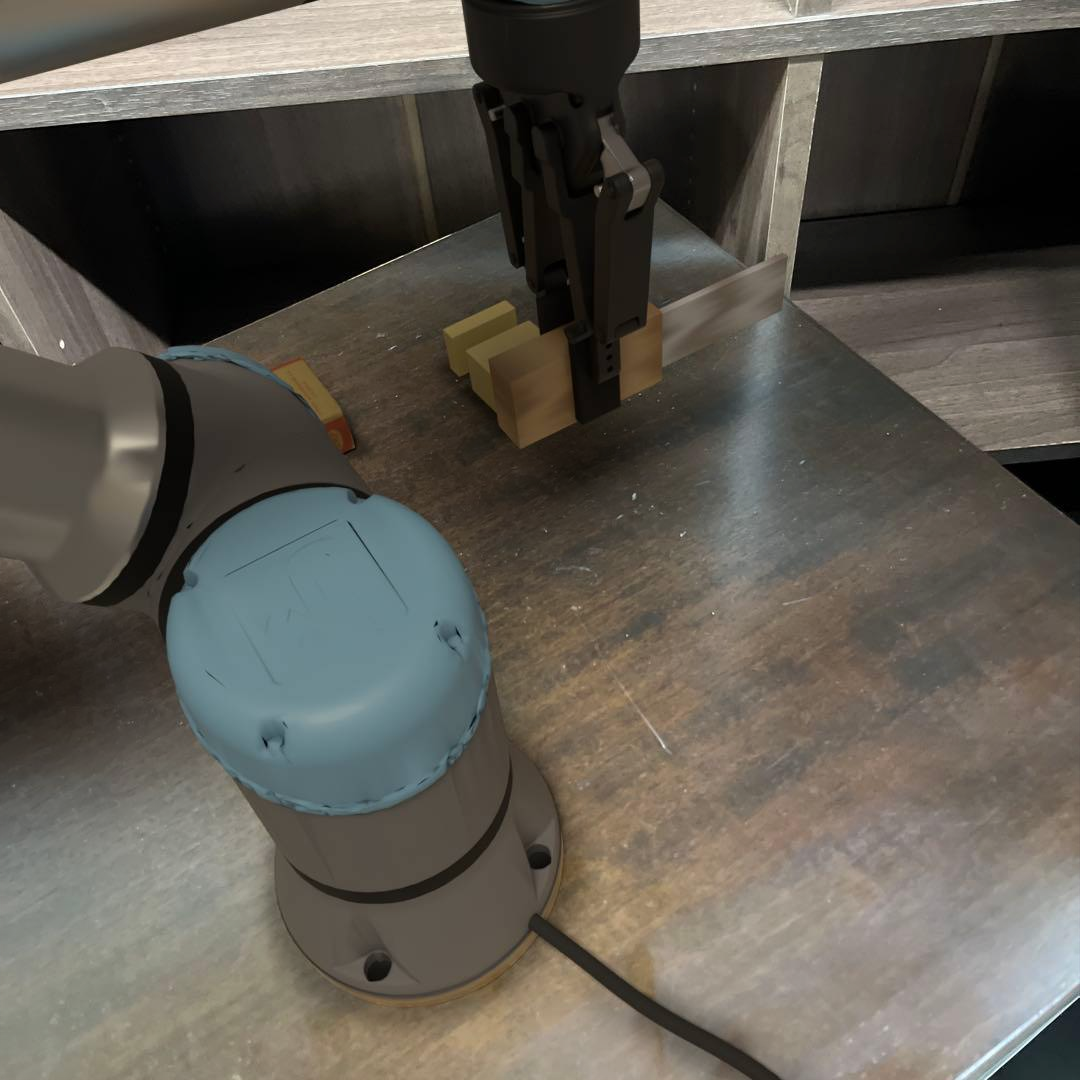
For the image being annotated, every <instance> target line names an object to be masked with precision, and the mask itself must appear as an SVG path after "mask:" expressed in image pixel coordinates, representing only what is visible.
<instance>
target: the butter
mask: <svg viewBox="0 0 1080 1080" xmlns="http://www.w3.org/2000/svg"><path fill="white" fill-rule="evenodd" d="M538 336H540V332H539V326H537V325H536V324H535V323H534V322H532V321H531V320H530V319H528V320H526V321H523V322H521V323H520V324H517V326H516V327H513V328H511V329H509V330H507V331H505V332H503V333H501V334H499V335H497V336H495V337H493V338H490V339H488V340H486V341H484V342H482V343H480V344H478V345H476V346H474V347H472V348H469V349H467V350H466V356H467V362H468V368H469V373H468V374H469V378H470V384H471V389H472V391H473V392H474V393H475V394H476V395H477V396H478V397H479V398H480V399H481V400H482V401H483V402H484V403H485V404H486V405H488V407H489V408H490V409H491V410H492V411H494V413H496V414H497V411H496V404H495V398H494V392H493V386H492V380H491V374H490V368H489V362H488V359H489V358H491V357H494V356H496V355H498V354H500V353H503V352H505V351H507V350H509V349H512V348H514V347H516V346H518V345H520V344H523V343H525V342H527V341H529V340H532V339H534V338H536V337H538Z"/></svg>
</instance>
